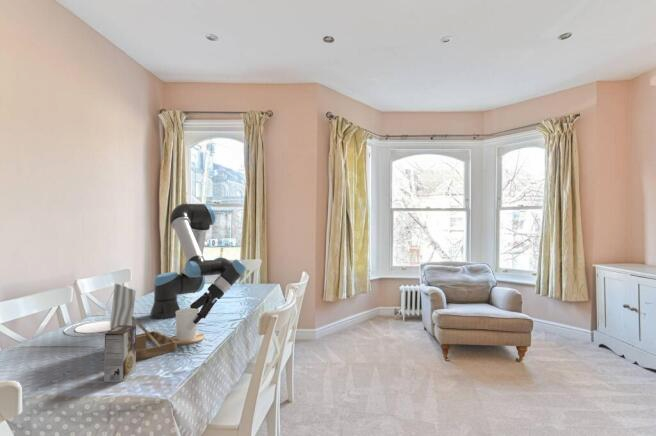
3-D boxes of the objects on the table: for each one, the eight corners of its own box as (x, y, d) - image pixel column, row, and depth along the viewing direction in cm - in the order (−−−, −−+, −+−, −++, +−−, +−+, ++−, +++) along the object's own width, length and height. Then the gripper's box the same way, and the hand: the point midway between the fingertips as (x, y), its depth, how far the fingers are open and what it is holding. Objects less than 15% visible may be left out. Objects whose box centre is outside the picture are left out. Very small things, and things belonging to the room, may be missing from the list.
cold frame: (109, 349, 143) (110, 283, 143) (155, 338, 157) (156, 278, 157) (129, 363, 129) (130, 291, 129) (177, 350, 142) (178, 284, 143)
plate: (87, 340, 154) (87, 338, 154) (51, 331, 165) (51, 330, 165) (144, 323, 179) (144, 322, 179) (109, 317, 191) (109, 315, 191)
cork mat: (162, 339, 155) (162, 338, 155) (194, 331, 166) (194, 330, 166) (178, 347, 145) (178, 346, 145) (210, 339, 157) (210, 337, 157)
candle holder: (202, 335, 160) (203, 309, 160) (188, 342, 150) (188, 314, 150) (185, 333, 163) (185, 307, 163) (169, 339, 153) (170, 312, 153)
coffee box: (117, 370, 123) (118, 325, 123) (136, 370, 123) (137, 324, 124) (102, 382, 114) (103, 333, 114) (123, 382, 114) (124, 332, 114)
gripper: (232, 298, 155) (197, 337, 146) (217, 288, 176) (185, 322, 167) (221, 287, 152) (184, 327, 143) (206, 279, 173) (173, 313, 164)
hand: (184, 324), depth 155 cm, fingers open, 13 cm apart
